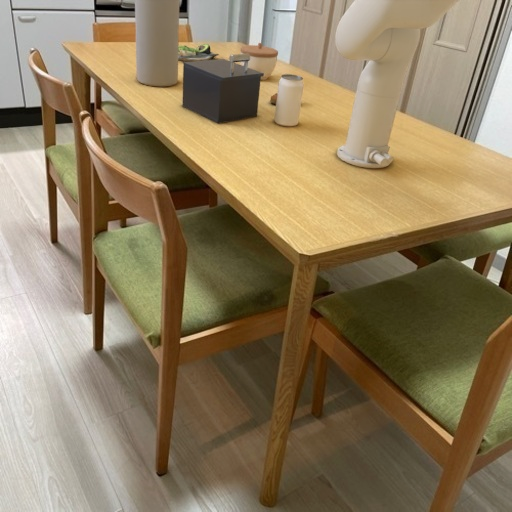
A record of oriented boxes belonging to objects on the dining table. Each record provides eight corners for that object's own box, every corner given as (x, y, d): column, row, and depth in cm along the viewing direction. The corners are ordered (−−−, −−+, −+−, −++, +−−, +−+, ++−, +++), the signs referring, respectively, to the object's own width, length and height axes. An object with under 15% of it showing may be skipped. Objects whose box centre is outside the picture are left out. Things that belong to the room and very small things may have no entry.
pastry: (279, 108, 149) (280, 95, 147) (264, 102, 154) (265, 88, 152) (302, 105, 155) (304, 92, 153) (287, 99, 159) (289, 86, 157)
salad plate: (200, 67, 183) (201, 53, 180) (155, 58, 187) (155, 44, 184) (222, 58, 198) (222, 45, 196) (180, 50, 203) (180, 37, 200)
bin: (257, 116, 141) (261, 75, 135) (218, 123, 133) (220, 80, 127) (220, 100, 150) (223, 61, 144) (182, 106, 142) (183, 65, 136)
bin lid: (263, 76, 135) (265, 54, 132) (223, 81, 126) (224, 58, 123) (223, 61, 144) (224, 41, 141) (183, 65, 136) (183, 43, 133)
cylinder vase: (129, 83, 156) (127, -10, 143) (146, 74, 167) (145, -13, 153) (168, 89, 154) (169, -4, 141) (183, 80, 165) (185, -7, 151)
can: (269, 122, 137) (275, 76, 131) (280, 117, 142) (286, 72, 136) (291, 128, 135) (298, 81, 129) (301, 123, 140) (308, 77, 134)
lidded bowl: (280, 82, 176) (285, 47, 170) (246, 82, 171) (249, 46, 165) (266, 72, 186) (270, 39, 180) (233, 72, 181) (236, 38, 175)
